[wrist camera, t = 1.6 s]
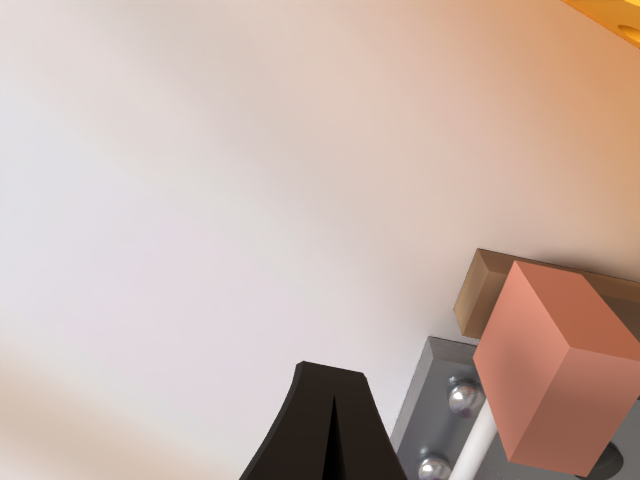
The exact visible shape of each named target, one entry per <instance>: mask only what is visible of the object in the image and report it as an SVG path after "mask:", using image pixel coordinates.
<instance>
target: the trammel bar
mask: <svg viewBox="0 0 640 480" xmlns="http://www.w3.org/2000/svg"><path fill="white" fill-rule="evenodd" d="M515 260H516V261H521V262H526V263H530V264H535V265H540V266H544V267H549V268H554V269H559V270H563V271H568V272H573V273H577V274H581V275H582V276H583V277H584V278H585V279H586V280H587V282H588V283H589V284H590V285H591V286H592V287H593V289H594V290H595V291H596V292H597V293H598V295H599V296H600V297H601V298H602V299H603V300H604V302H605V303H606V304H607V305H608V306H609V307H610V309H611V310H612V311H613V312H614V313H615V315H616V316H617V317H618V318H619V319H620V320H621V322H622V323H623V324H624V325H625V326H626V327H627V329H628V330H629V331H630V332H631V333H632V335H633V336H634V337H635V338H636V339H637V340H638V342H639V343H640V283H637V282H633V281H628V280H623V279H619V278H614V277H609V276H604V275H600V274H595V273H590V272H586V271H581V270H576V269H572V268H567V267H562V266H557V265H553V264H548V263H543V262H539V261H534V260H529V259H525V258H520V257H515V256H510V255H506V254H501V253H496V252H492V251H487V250H482V249H477V250H476V253H475V255H474V258H473V261H472V263H471V266H470V268H469V271H468V273H467V276H466V279H465V281H464V284H463V286H462V289H461V292H460V294H459V297H458V299H457V302H456V304H455V307H454V312H455V315H456V318H457V321H458V324H459V327H460V330H461V333H462V336H467V337H472V338H476V339H481V337H482V335H483V333H484V330H485V328H486V326H487V323H488V321H489V319H490V316H491V314H492V312H493V309H494V307H495V305H496V302H497V300H498V298H499V295H500V293H501V291H502V288H503V286H504V284H505V281H506V279H507V277H508V275H509V272H510V270H511V268H512V265H513V263H514V261H515Z"/></svg>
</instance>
